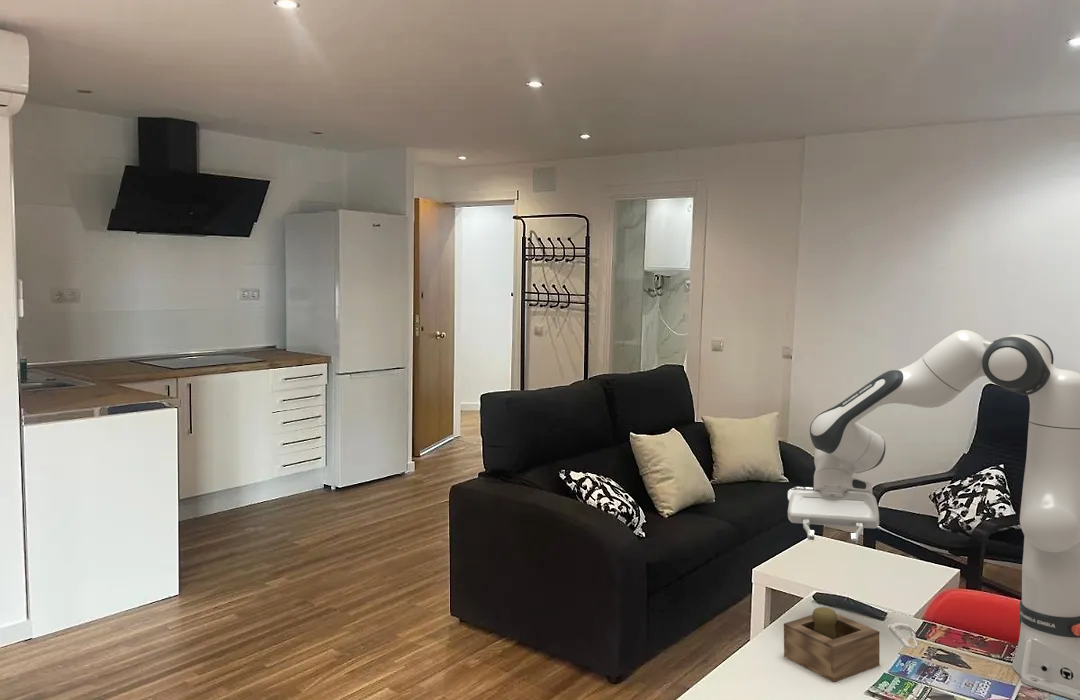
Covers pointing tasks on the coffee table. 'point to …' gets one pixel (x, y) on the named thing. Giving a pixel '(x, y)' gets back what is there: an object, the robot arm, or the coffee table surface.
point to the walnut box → (832, 647)
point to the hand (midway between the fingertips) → (832, 540)
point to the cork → (825, 621)
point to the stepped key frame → (894, 628)
